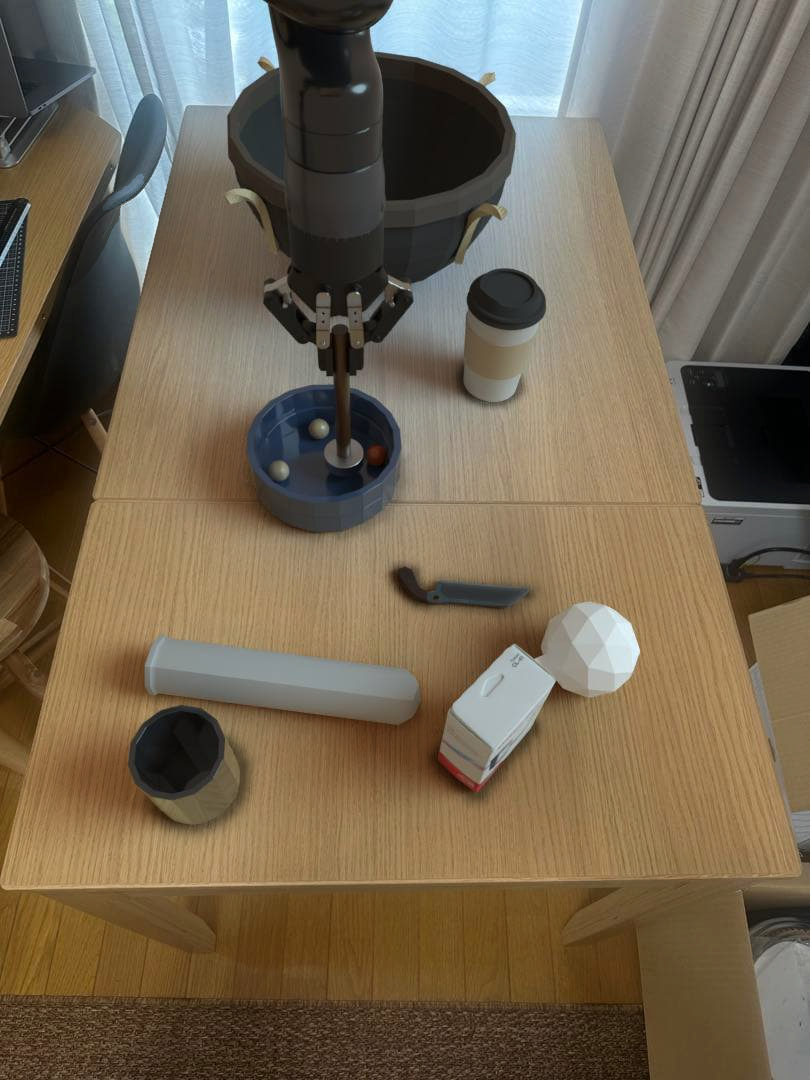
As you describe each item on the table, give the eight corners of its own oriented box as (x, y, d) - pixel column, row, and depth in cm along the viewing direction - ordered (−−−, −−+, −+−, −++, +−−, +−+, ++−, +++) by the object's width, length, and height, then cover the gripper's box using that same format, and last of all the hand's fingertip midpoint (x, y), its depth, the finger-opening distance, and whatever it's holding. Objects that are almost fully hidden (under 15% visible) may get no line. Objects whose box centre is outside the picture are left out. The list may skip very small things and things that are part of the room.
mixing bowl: (250, 537, 80) (243, 505, 75) (255, 421, 89) (249, 385, 84) (403, 531, 81) (406, 499, 76) (393, 418, 90) (395, 382, 85)
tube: (426, 658, 69) (161, 623, 69) (422, 703, 65) (140, 666, 65) (420, 695, 72) (167, 662, 73) (415, 740, 68) (147, 705, 68)
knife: (395, 601, 76) (395, 598, 76) (398, 568, 79) (398, 565, 78) (530, 613, 76) (531, 610, 76) (529, 579, 79) (531, 576, 78)
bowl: (488, 196, 116) (510, 57, 99) (499, 356, 97) (528, 218, 80) (261, 183, 115) (244, 40, 98) (228, 342, 96) (199, 199, 79)
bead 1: (289, 481, 84) (269, 486, 83) (282, 461, 84) (262, 466, 83) (294, 476, 82) (274, 481, 81) (287, 455, 82) (267, 460, 81)
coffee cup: (491, 347, 98) (511, 248, 85) (540, 387, 94) (567, 290, 82) (440, 376, 94) (452, 278, 82) (488, 419, 91) (509, 323, 78)
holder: (150, 828, 64) (122, 803, 56) (159, 741, 68) (134, 707, 60) (238, 822, 64) (221, 797, 57) (242, 736, 68) (227, 702, 61)
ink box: (474, 795, 66) (494, 757, 56) (432, 756, 68) (444, 712, 58) (533, 727, 70) (561, 679, 60) (492, 691, 72) (513, 640, 62)
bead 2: (310, 440, 85) (301, 423, 86) (318, 445, 87) (310, 429, 88) (328, 429, 85) (319, 412, 85) (335, 435, 87) (326, 418, 88)
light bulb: (597, 596, 76) (491, 640, 74) (628, 580, 67) (508, 630, 65) (635, 675, 74) (527, 722, 73) (671, 670, 65) (550, 724, 64)
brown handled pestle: (324, 477, 82) (315, 346, 66) (324, 446, 84) (315, 313, 68) (364, 476, 82) (365, 346, 66) (362, 445, 84) (363, 312, 68)
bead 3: (375, 453, 82) (391, 447, 84) (362, 444, 84) (378, 439, 85) (374, 472, 84) (390, 466, 85) (361, 463, 85) (377, 458, 87)
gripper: (420, 176, 59) (408, 342, 74) (247, 175, 58) (270, 343, 73) (428, 234, 55) (414, 397, 70) (243, 235, 54) (268, 400, 69)
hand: (340, 369), depth 71 cm, fingers closed on brown handled pestle
